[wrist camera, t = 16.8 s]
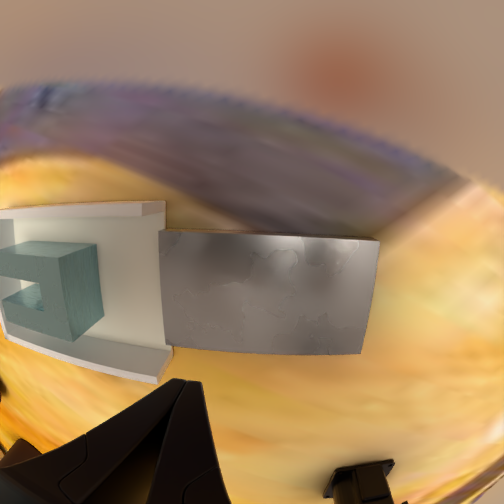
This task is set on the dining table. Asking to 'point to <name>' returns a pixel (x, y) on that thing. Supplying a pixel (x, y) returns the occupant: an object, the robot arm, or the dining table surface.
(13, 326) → the well tray
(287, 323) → the panel
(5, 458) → the bottle
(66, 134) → the dining table surface
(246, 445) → the dining table surface
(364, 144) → the dining table surface
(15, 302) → the clip
